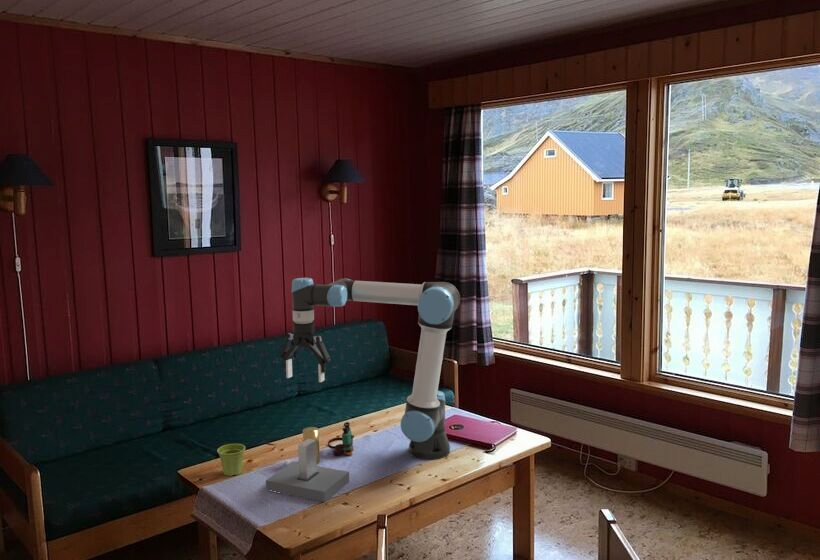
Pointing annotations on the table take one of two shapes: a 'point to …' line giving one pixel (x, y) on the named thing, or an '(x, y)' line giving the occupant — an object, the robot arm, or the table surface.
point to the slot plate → (315, 488)
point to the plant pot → (231, 458)
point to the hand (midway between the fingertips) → (305, 379)
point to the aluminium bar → (307, 460)
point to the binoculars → (347, 442)
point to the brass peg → (313, 434)
